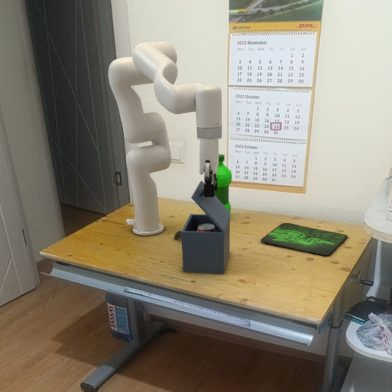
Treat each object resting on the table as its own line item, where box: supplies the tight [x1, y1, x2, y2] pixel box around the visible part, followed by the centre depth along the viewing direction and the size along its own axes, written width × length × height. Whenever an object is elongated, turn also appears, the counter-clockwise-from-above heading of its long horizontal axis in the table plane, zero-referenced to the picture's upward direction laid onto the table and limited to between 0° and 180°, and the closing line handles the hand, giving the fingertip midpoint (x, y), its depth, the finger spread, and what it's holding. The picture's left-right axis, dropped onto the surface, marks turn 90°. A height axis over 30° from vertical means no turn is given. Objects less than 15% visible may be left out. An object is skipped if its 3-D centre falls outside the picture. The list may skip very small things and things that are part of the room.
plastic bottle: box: [214, 153, 233, 213], centre depth 194 cm, size 10×10×25 cm
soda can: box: [197, 223, 217, 232], centre depth 161 cm, size 7×7×12 cm
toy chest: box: [181, 213, 231, 275], centre depth 160 cm, size 14×17×14 cm
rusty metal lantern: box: [173, 229, 182, 242], centre depth 178 cm, size 7×13×10 cm
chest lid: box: [190, 178, 231, 232], centre depth 151 cm, size 15×17×6 cm
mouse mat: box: [260, 222, 348, 257], centre depth 177 cm, size 27×22×1 cm
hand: (210, 193), depth 150 cm, fingers closed on chest lid, 6 cm apart
